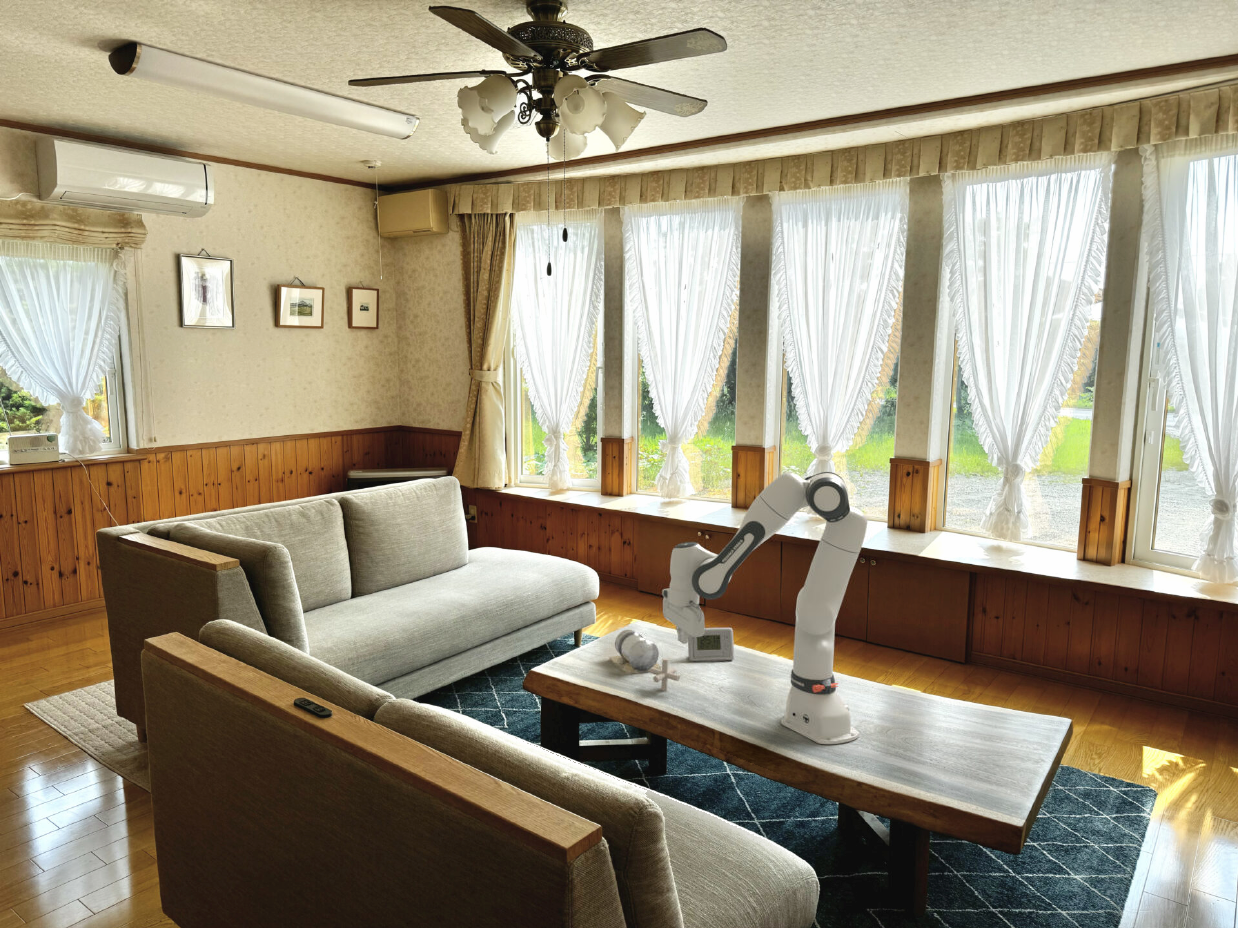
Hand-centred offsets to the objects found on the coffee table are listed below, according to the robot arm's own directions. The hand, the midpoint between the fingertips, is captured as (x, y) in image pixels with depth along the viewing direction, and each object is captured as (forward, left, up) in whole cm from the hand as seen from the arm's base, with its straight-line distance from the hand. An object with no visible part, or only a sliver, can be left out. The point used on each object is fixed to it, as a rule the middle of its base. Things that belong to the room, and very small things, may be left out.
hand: (682, 641), depth 248 cm
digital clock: (+30, -27, -19) cm, 45 cm away
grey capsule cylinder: (+34, 0, -19) cm, 39 cm away
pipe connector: (+11, 0, -19) cm, 22 cm away
